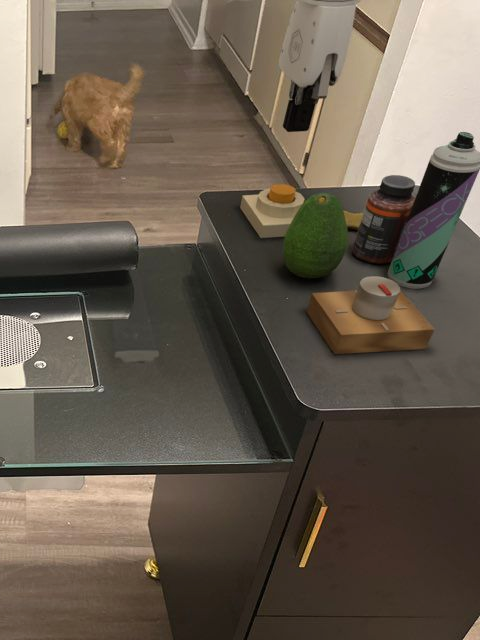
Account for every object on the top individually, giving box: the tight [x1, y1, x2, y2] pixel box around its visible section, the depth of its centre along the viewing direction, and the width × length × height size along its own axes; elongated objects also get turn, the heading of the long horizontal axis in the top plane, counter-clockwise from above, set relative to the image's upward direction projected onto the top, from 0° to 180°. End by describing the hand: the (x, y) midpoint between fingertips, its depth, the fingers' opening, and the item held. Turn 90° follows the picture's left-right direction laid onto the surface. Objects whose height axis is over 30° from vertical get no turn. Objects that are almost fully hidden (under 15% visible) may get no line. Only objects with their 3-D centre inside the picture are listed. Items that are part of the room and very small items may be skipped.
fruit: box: [282, 192, 349, 280], centre depth 97 cm, size 8×8×12 cm
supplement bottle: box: [352, 174, 416, 265], centre depth 100 cm, size 6×6×11 cm
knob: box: [352, 275, 401, 320], centre depth 88 cm, size 4×4×4 cm
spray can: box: [386, 131, 480, 290], centre depth 93 cm, size 6×6×20 cm
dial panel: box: [306, 289, 435, 355], centre depth 90 cm, size 11×9×3 cm
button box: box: [239, 187, 305, 239], centre depth 112 cm, size 8×10×4 cm
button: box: [268, 183, 297, 204], centre depth 110 cm, size 4×4×2 cm
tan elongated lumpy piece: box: [343, 209, 364, 231], centre depth 109 cm, size 3×14×3 cm
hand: (295, 129), depth 104 cm, fingers closed
